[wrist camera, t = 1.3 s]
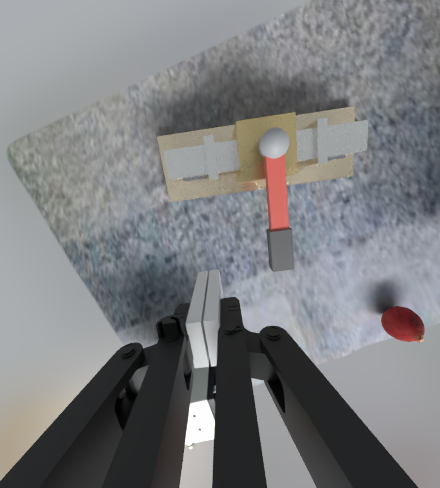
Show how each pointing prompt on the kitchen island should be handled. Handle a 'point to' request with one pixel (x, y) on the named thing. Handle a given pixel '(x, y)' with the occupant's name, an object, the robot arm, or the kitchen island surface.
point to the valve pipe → (250, 160)
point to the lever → (277, 199)
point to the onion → (403, 324)
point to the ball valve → (201, 406)
